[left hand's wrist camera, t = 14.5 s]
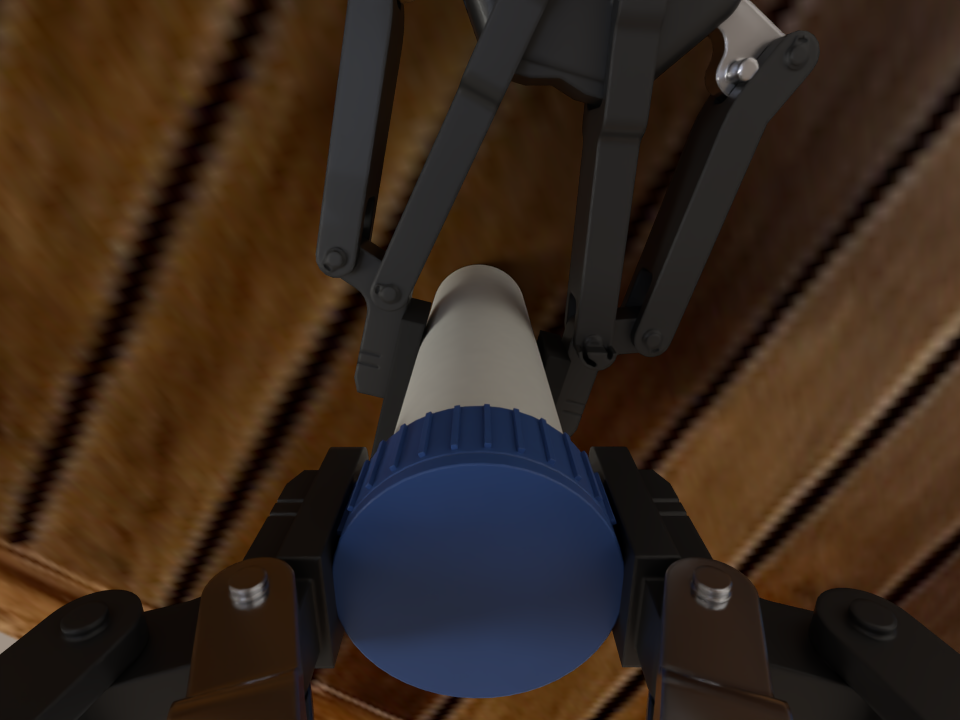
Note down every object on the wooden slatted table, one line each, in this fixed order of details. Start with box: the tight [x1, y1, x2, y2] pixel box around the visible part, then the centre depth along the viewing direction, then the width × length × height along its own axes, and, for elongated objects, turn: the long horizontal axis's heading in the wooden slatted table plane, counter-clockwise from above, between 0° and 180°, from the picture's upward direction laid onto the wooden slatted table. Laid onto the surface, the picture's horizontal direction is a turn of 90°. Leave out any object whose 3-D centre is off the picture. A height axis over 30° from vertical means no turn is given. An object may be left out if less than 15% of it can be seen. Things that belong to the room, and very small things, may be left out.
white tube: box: [394, 265, 563, 434], centre depth 17 cm, size 4×4×17 cm
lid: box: [332, 404, 624, 698], centre depth 10 cm, size 5×5×2 cm
